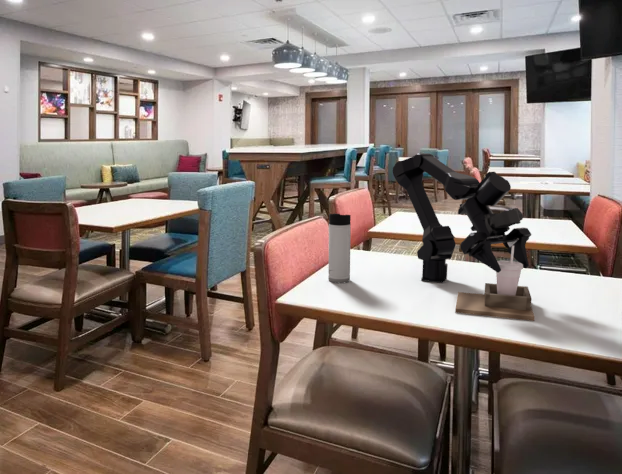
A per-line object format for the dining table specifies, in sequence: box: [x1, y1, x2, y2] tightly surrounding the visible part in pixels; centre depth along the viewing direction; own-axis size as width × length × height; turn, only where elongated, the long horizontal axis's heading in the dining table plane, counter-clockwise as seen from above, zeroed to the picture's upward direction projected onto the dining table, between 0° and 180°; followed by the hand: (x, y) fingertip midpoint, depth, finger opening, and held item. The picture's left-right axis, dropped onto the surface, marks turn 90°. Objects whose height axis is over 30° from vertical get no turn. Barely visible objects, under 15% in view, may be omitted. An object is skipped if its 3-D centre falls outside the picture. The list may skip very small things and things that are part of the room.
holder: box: [454, 282, 536, 322], centre depth 117 cm, size 17×14×4 cm
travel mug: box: [328, 212, 352, 284], centre depth 140 cm, size 6×7×20 cm
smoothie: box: [495, 246, 524, 296], centre depth 117 cm, size 6×6×14 cm
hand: (513, 269), depth 116 cm, fingers open, 9 cm apart
